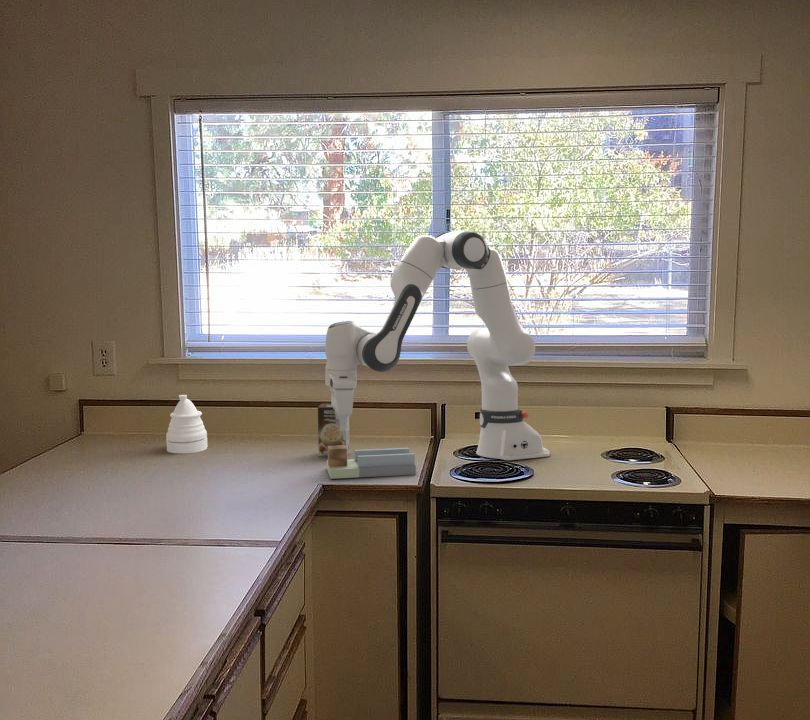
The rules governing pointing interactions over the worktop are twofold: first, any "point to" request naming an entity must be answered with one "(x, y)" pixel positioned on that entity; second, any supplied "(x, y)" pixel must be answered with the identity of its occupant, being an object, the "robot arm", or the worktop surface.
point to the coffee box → (330, 430)
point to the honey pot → (186, 429)
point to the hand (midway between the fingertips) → (340, 427)
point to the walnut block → (337, 455)
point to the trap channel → (376, 464)
